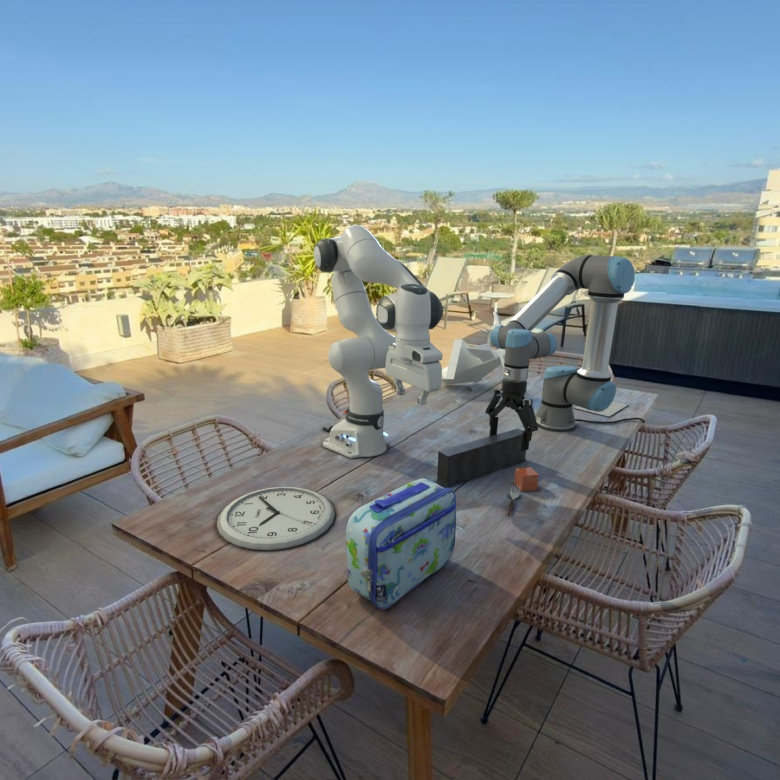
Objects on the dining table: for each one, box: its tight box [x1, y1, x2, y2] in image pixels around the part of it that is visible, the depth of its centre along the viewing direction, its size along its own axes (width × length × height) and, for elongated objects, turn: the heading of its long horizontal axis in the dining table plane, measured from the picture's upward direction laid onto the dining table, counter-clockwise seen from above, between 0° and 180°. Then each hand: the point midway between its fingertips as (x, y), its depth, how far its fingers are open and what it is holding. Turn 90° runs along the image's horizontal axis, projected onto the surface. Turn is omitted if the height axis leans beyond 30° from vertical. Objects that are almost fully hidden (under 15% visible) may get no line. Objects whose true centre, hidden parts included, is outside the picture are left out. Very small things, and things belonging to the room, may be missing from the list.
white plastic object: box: [442, 310, 531, 397], centre depth 245 cm, size 37×45×31 cm
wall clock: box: [216, 486, 336, 551], centre depth 136 cm, size 30×2×30 cm
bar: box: [436, 428, 527, 488], centre depth 163 cm, size 34×4×10 cm, turn 125°
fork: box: [507, 483, 521, 517], centre depth 145 cm, size 3×16×2 cm, turn 160°
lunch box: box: [345, 477, 457, 610], centre depth 110 cm, size 26×11×21 cm, turn 134°
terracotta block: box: [513, 466, 540, 492], centre depth 154 cm, size 5×5×5 cm
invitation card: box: [573, 400, 629, 418], centre depth 226 cm, size 21×1×15 cm
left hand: (410, 399), depth 140 cm, fingers open, 8 cm apart
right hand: (508, 442), depth 169 cm, fingers open, 13 cm apart
